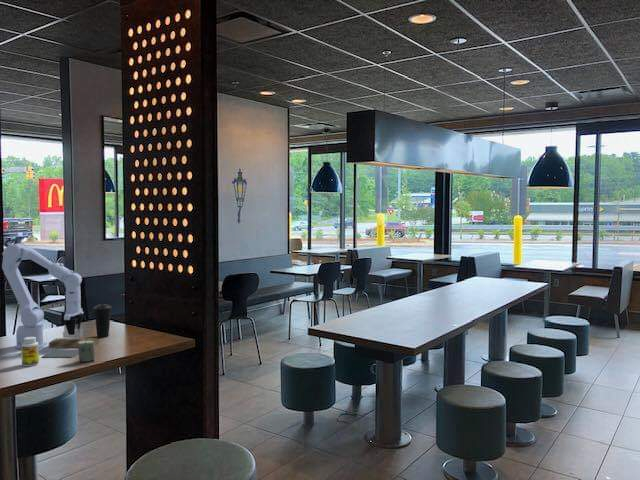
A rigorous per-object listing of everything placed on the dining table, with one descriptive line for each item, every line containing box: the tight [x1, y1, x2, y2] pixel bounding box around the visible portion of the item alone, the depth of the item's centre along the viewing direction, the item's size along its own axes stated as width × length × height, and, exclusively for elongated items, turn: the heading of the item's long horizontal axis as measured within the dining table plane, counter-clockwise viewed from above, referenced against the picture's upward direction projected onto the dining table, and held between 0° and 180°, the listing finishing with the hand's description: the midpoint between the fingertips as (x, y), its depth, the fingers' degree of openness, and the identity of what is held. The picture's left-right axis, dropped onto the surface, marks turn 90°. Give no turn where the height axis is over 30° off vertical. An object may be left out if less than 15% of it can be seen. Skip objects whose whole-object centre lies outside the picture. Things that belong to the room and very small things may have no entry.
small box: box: [77, 341, 95, 363], centre depth 206 cm, size 6×5×8 cm
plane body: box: [48, 337, 99, 348], centre depth 229 cm, size 18×7×2 cm, turn 93°
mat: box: [41, 349, 79, 359], centre depth 215 cm, size 12×10×1 cm
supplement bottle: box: [21, 337, 40, 367], centre depth 201 cm, size 6×6×10 cm
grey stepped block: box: [62, 324, 85, 338], centre depth 229 cm, size 7×4×5 cm, turn 93°
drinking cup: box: [93, 292, 112, 339], centre depth 244 cm, size 8×8×20 cm
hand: (73, 333), depth 229 cm, fingers closed on grey stepped block, 4 cm apart
